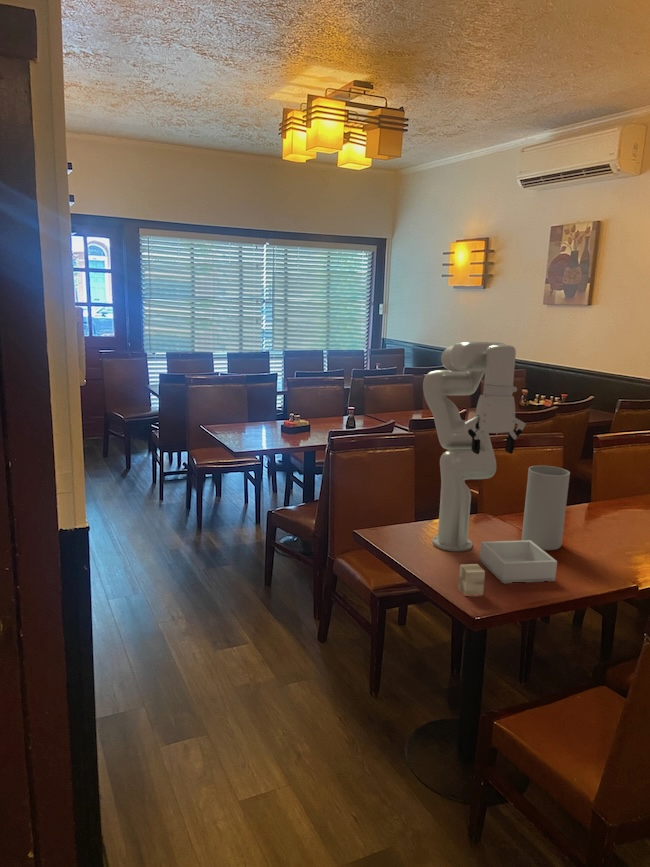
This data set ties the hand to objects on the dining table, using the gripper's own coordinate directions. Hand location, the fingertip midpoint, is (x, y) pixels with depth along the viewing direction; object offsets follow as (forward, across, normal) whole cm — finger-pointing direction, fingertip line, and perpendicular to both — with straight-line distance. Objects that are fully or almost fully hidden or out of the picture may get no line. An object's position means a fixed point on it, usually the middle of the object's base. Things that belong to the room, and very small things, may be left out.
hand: (492, 452), depth 172 cm
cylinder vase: (+37, -30, -22) cm, 52 cm away
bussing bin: (+37, -12, -3) cm, 39 cm away
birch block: (+37, +7, +9) cm, 38 cm away
